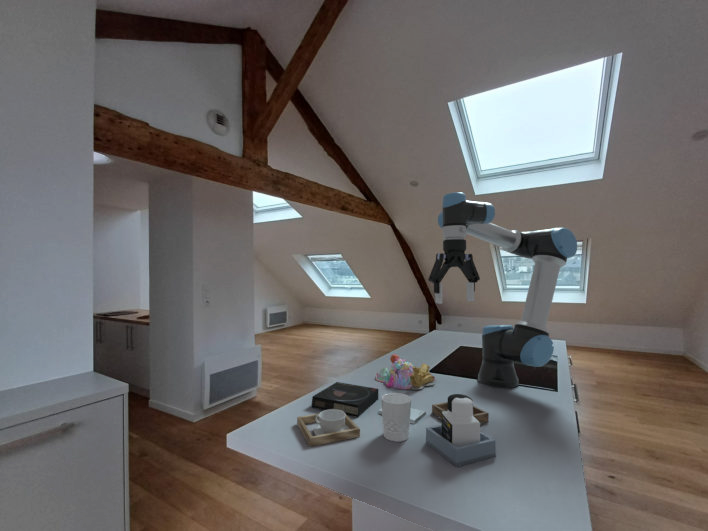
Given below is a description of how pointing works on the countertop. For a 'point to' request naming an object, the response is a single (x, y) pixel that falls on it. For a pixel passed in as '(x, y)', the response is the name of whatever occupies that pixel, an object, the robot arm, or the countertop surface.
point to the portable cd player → (345, 398)
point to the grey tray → (461, 453)
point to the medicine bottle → (460, 421)
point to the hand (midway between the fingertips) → (455, 302)
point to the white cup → (396, 416)
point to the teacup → (330, 422)
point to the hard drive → (413, 415)
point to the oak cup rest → (329, 437)
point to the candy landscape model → (405, 375)
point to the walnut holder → (477, 412)
